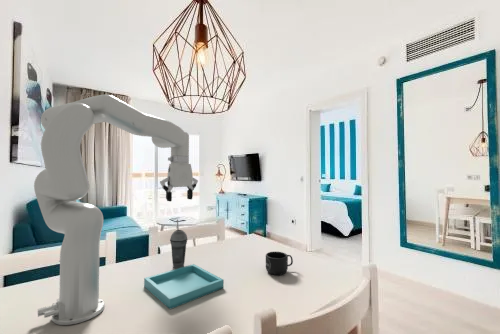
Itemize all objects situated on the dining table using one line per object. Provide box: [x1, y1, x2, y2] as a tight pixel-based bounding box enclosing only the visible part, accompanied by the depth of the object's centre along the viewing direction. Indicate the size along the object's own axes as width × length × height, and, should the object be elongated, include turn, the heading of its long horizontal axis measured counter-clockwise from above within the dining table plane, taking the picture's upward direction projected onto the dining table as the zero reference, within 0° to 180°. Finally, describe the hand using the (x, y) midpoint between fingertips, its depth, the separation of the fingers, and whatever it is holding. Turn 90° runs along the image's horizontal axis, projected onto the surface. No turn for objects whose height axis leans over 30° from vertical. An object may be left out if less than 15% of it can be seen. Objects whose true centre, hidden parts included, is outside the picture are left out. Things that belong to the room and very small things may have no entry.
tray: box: [143, 263, 225, 310], centre depth 90 cm, size 20×20×3 cm
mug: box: [265, 251, 294, 276], centre depth 104 cm, size 12×9×7 cm
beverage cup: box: [169, 219, 188, 269], centre depth 109 cm, size 7×7×20 cm
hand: (179, 200), depth 109 cm, fingers open, 9 cm apart
